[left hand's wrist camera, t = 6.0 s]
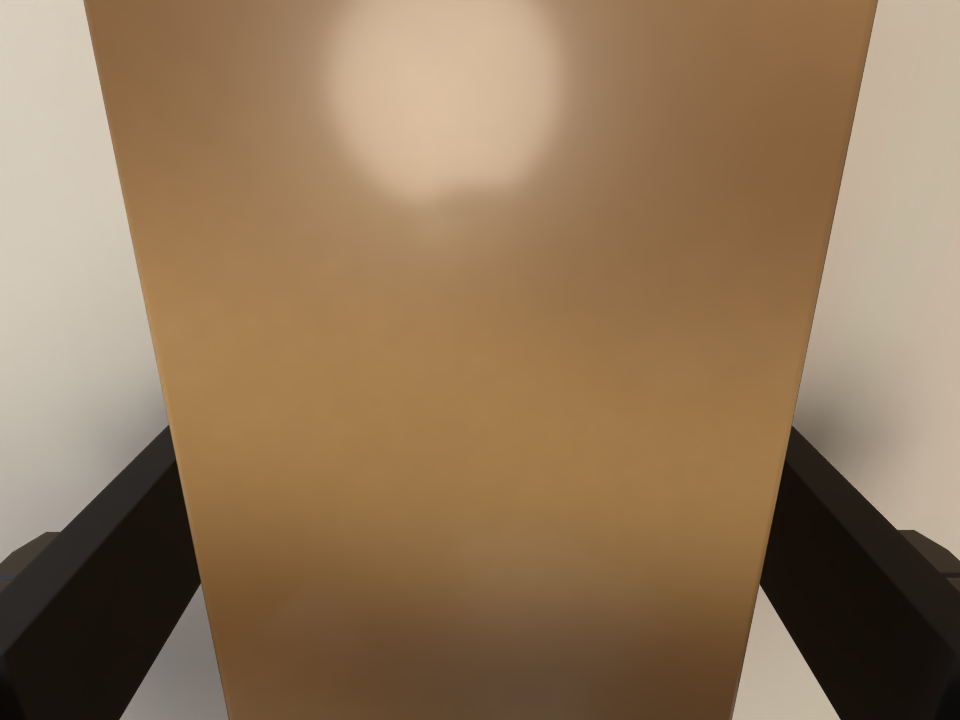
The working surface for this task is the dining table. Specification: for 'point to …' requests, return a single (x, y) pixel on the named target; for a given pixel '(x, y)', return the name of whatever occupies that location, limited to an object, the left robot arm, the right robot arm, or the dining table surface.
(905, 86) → the dining table surface
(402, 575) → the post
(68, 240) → the dining table surface
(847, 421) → the dining table surface
